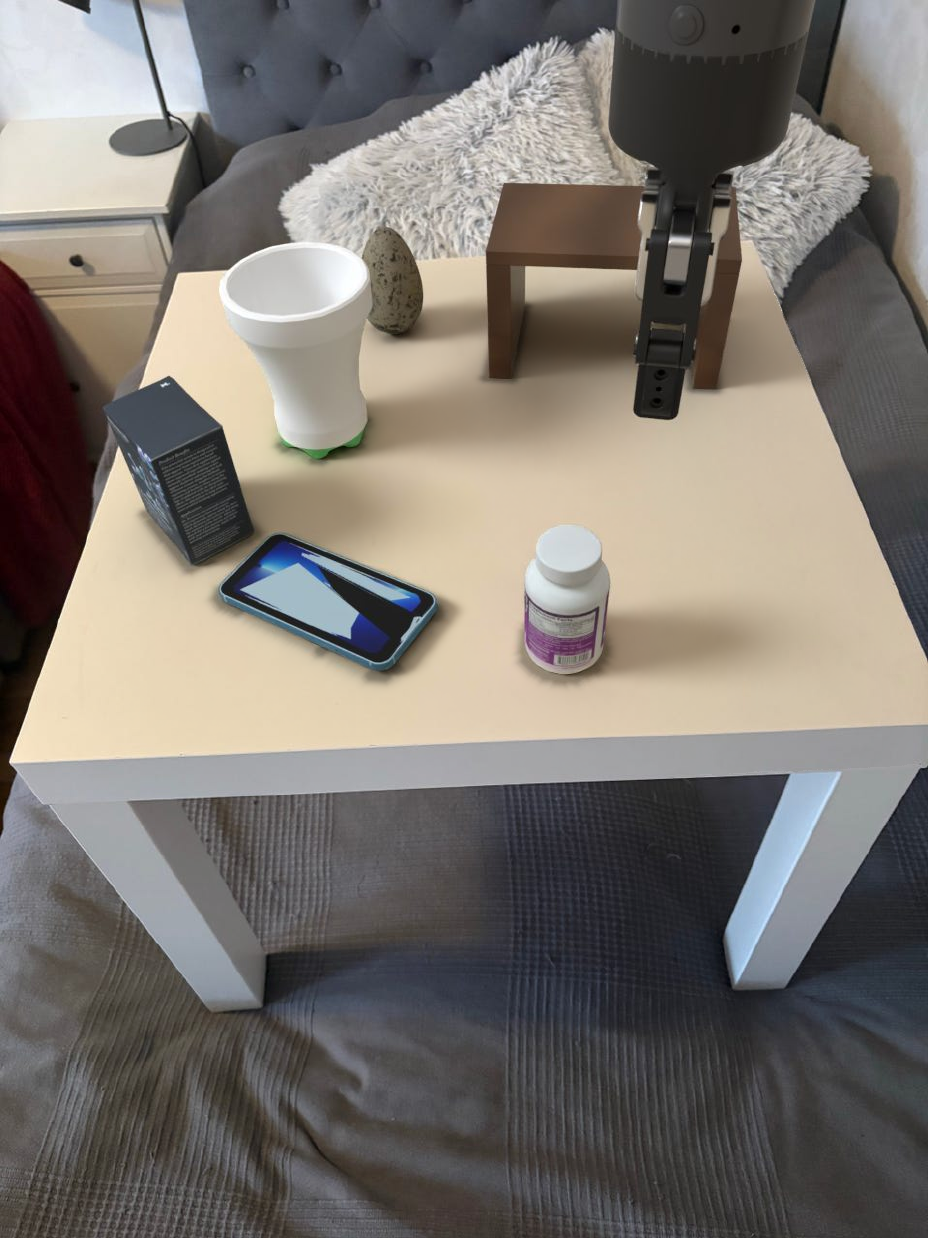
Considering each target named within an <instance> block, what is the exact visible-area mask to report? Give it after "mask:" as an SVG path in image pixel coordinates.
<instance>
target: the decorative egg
mask: <svg viewBox="0 0 928 1238" xmlns="http://www.w3.org/2000/svg"><path fill="white" fill-rule="evenodd" d="M361 258H362V259H363V260H364V261H365V263H366V265H367V267H368V269H369V274H370V283H371V293H372V303H373V305H372V309H371V311H370V313H369V315H368V316H367V318H366V320H367V321H369V323H370V324H371V325H372V326H373V327H374V328H375V329H377V330H378V331H381V332H383V333H386V334H389V335H390V334H391V335H395V334H401V333H405V332H406V331H408V330H409V329H410V328H412V326H414V325H415V323H416V322H417V321H418V319H419V317H420V315H421V312H422V309H423V305H424V286H423V281H422V276H421V273H420V269H419V267H418V264H417V261H416V259H415V257H414V255H413V253H412V250H411V249H410V246H409V245H408V243H407V242H406V241H405V239H404V238H403V236H402V235H401V234H400V233H399V232H398V231H396V229H393V228H392V227H388V226H381V227H378V228H376V229H375V230H374V231H373V232H372V233H371V234H370V236H369V237H368V239H367V241H366V243H365V245H364V248H363V251H362V255H361Z"/></svg>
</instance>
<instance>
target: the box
mask: <svg viewBox="0 0 928 1238" xmlns="http://www.w3.org/2000/svg"><path fill="white" fill-rule="evenodd" d="M102 409H103V412H104V414H105V417H106V420H107V422H108V424H109V426H110V428H111V429H110V430H111V431H112V433H113V435H114V438H115V441H116V443H117V445H118V447H119V451H120V452H121V455H122V457H123V459H124V462H125V464H126V466H127V468H128V471H129V473H130V475H131V478H132V480H133V482H134V485H135V487H136V489H137V492H138V493H139V496H140V499H141V501H142V504H143V506H144V508H145V510H146V513H147V514H148V515H150V517H151V518H152V519H153V521H154V522H155V523H156V524H157V525H158V526H159V528H160V529H161V530H162V531H163V533H165V535H166V536H167V537H168V538H169V540H170V541H171V543H173V544H174V546H176V548H177V549H178V550H179V551H180V554H182V555H183V556H184V557H185V559H186V560H187V562H188V563H189V564H190V565H197V564H198V563H200V562H202V561H205V560H206V559H208V558H210V557H211V556H213V555H216V554H217V553H219V552H221V551H223V550H226V549H227V548H229V547H231V546H232V545H234V544H236V543H238V542H240V541H241V540H244V539H246V538H247V537H249V536H251V535H252V534H254V533H255V530H254V526H253V523H252V519H251V516H250V512H249V509H248V506H247V503H246V500H245V496H244V493H243V490H242V487H241V483H240V480H239V477H238V473H237V471H236V470H237V469H236V467H235V464H234V460H233V457H232V453H231V450H230V446H229V443H228V440H227V437H226V433H225V430H224V428H223V424H221V423H220V422H219V421H217V420H216V419H215V418H214V417H213V416H212V415H211V414H210V413H208V411H207V410H206V409H205V408H203V407H202V406H201V405H200V404H199V402H197V401H196V400H195V399H194V398H193V397H192V396H191V395H190V394H189V393H188V392H187V391H186V390H185V389H184V388H183V387H182V386H181V385H180V384H179V382H177V381H176V379H175V378H174V377H172V376H170V375H167V376H165V377H163V378H162V379H159V380H157V381H154V382H153V383H150V384H148V385H146V386H144V387H141V388H139V389H136V390H134V391H132V392H130V393H127V394H125V395H123V396H121V397H119V398H116V399H115V400H113V401H111V402H109V403H107V404H105V405H104V406H102Z"/></svg>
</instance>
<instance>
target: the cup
mask: <svg viewBox="0 0 928 1238" xmlns="http://www.w3.org/2000/svg"><path fill="white" fill-rule="evenodd" d="M218 290H219V291H218V293H219V296H220V299H221V303H222V306H223V308H224V313H225V316H226V319H227V322H228V325H229V327H230V329H231V330H232V331H233V332H234V333H235V335H237V336H238V337H239V338H240V339H241V340H242V341H243V342H244V344H245V345H246V346H247V348H248V350H250V352H251V354H252V356H253V357H254V359H255V360H256V362H257V364H258V365H259V367H260V369H261V371H262V373H263V374H264V377H265V379H266V381H267V384H268V385H269V389H270V392H271V396H272V399H273V402H274V403H273V415H274V420H275V424H276V428H277V431H278V435H279V437H280V440H281V441H282V443H283V444H284V446H285V447H287V448H288V447H289V448H296V449H297V448H298V449H300V450H301V451H303V452H305V453H306V454H308V455H309V456H311V457H312V458H314V459H322V458H324V457H326V456H327V455H328V454H329V452H330V451H332V450H334V449H336V448H339V447H342V446H344V447H346V448H353V447H357V446H358V445H359V444H360V443H361V440H362V437H363V434H364V431H365V428H366V425H367V423H368V421H369V420H368V410H367V404H366V398H365V396H364V394H363V392H362V389H361V384H360V383H361V382H360V354H361V353H360V352H361V346H362V340H363V333H364V330H365V326H366V322H367V316H368V315H369V313H370V311H371V309H372V305H373V303H372V293H371V283H370V274H369V269H368V267H367V265H366V263H365V261H364V260H363V259H362V257H361V256H359V255H358V254H357V253H356V252H354V251H352V250H350V249H347V248H345V247H344V246H342V245H337V244H332V243H328V242H327V243H326V242H314V241H301V242H290V243H283V244H278V245H272V246H269V247H266V248H264V249H260V250H258V251H256V252H255V251H254V252H253V253H251V254H249V255H247V256H245V257H244V258H242V259H240V260H239V261H238V262H236V263H235V264H234V265H233V266H231V268H229V269H228V270H227V272H226V273H225V274H224V275H223V277H222V278H221V279H220V281H219V289H218Z"/></svg>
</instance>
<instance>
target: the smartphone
mask: <svg viewBox="0 0 928 1238" xmlns="http://www.w3.org/2000/svg"><path fill="white" fill-rule="evenodd" d="M218 593H219V596H220V598H221V600H222V601H223V602H224V603H226V604H228V605H230V606H233V607H235V608H237V609H239V610H242V611H243V612H246V613H248V614H250V615H252V616H254V617H257V618H259V619H261V620H264V621H265V622H268V623H269V624H272V625H274V626H276V627H279V628H281V629H283V630H285V631H287V632H289V633H291V634H294V635H296V636H298V637H301V638H303V639H305V640H307V641H309V642H311V643H314V644H316V645H318V646H320V647H323V648H324V649H327V650H329V651H331V652H334V653H336V654H338V655H339V656H342V657H345V658H346V659H348V660H351V661H353V662H355V663H358V664H360V665H362V666H364V667H366V668H369V669H371V670H373V671H381V672H382V671H386V670H388V669H390V668H392V667H394V666H395V664H396V663H397V661H398V660H399V659H400V658H401V656H402V655H403V654H404V652H406V650H407V649H408V648H409V646H410V645H411V644H412V642H413V641H414V640H415V639H416V637H417V636H418V635H419V634H420V633H421V631H422V630H423V629H424V628H425V626H426V625H427V624H428V622H429V621H430V620H431V618H432V617H433V616H434V615H435V614H436V613H437V610H438V601H437V597H436V595H435V594H434V593H433V592H431V591H430V590H426V589H424V588H421V587H419V586H416V585H414V584H412V583H409V582H406V581H404V580H402V579H400V578H397V577H394V576H391V575H390V574H387V573H385V572H382V571H379V570H377V569H375V568H372V567H370V566H367V565H365V564H362V563H359V562H358V561H355V560H353V559H350V558H347V557H345V556H344V555H343V556H342V555H340V554H337V553H335V552H332V551H330V550H327V549H325V548H323V547H320V546H318V545H315V544H314V543H310V542H308V541H305V540H303V539H301V538H298V537H296V536H293V535H291V534H288V533H285V532H274V533H271V534H270V535H268V536H266V538H265V539H264V540H263V541H261V543H260V544H258V546H257V547H256V548H254V550H252V552H251V553H250V554H249V555H247V557H246V558H245V559H244V560H243V561H242V562H240V564H238V566H237V567H236V568H234V569H233V571H231V572H230V574H228V576H226V577H225V578H224V579H223V580H222V581H221V583H220V584H219V585H218Z"/></svg>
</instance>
